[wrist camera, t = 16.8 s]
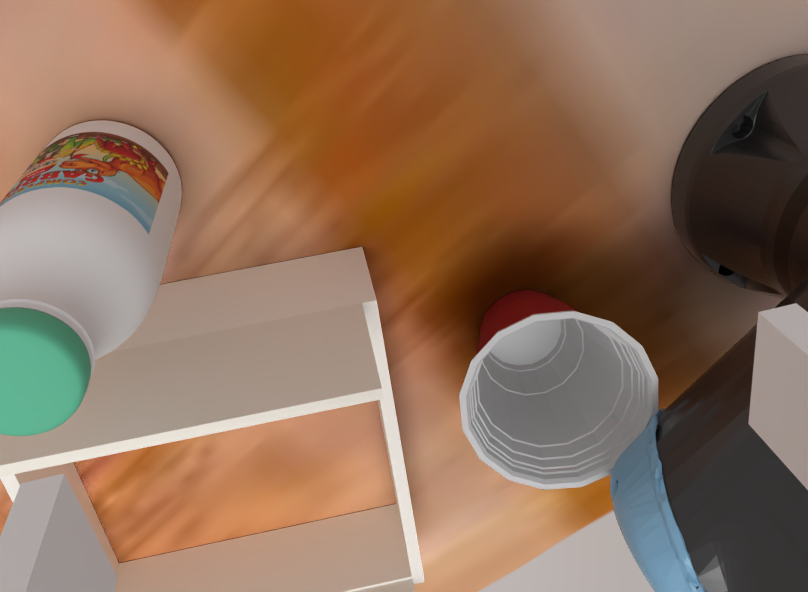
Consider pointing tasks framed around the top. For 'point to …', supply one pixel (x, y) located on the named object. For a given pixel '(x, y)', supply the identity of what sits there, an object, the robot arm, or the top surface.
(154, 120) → the top surface
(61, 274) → the milk bottle
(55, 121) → the top surface
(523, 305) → the plastic cup
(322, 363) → the carton
